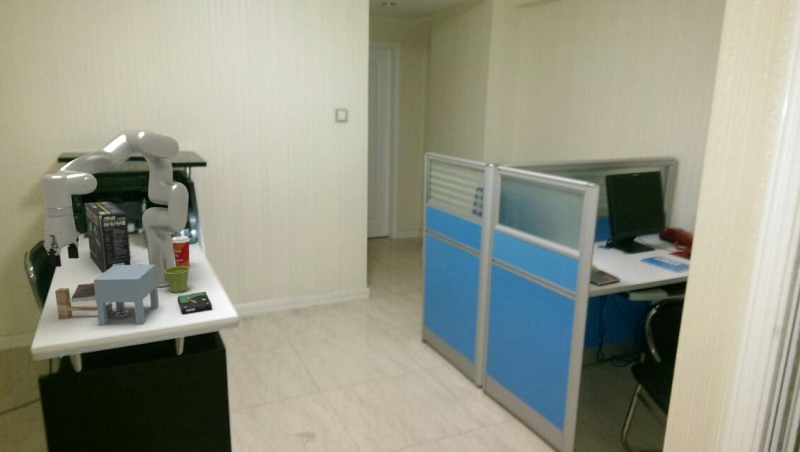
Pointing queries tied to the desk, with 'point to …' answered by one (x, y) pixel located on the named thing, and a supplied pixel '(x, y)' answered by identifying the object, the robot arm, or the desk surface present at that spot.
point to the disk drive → (194, 303)
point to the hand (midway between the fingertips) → (65, 262)
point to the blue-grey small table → (126, 289)
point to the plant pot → (177, 278)
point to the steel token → (121, 314)
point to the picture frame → (84, 293)
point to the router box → (107, 235)
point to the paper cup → (181, 250)
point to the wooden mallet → (66, 308)
